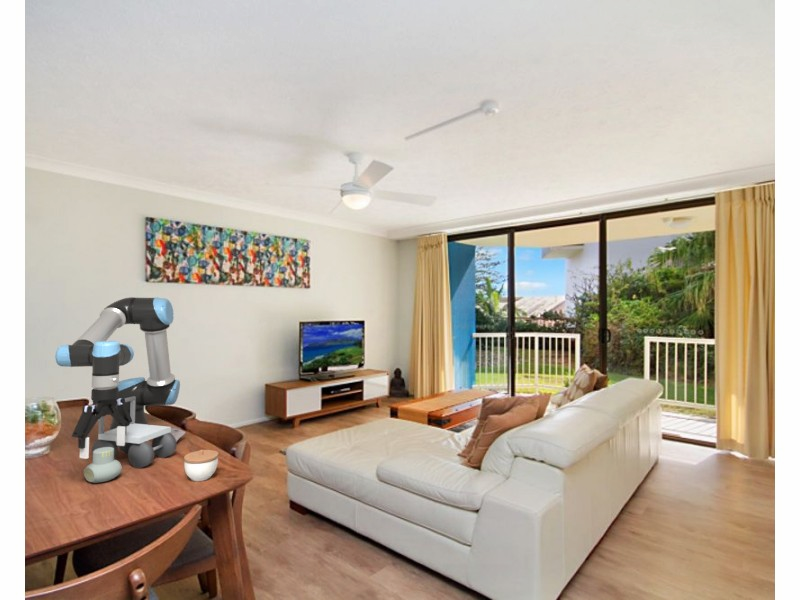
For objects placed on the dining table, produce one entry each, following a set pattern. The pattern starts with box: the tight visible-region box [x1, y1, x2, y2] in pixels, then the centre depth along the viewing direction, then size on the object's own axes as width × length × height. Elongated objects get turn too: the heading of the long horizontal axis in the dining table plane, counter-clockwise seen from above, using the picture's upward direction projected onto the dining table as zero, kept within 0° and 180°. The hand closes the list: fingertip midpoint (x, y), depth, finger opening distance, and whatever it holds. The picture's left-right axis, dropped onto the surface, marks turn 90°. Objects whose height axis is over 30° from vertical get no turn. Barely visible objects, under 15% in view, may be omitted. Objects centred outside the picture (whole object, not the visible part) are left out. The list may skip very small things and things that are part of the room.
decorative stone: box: [152, 427, 187, 443], centre depth 184 cm, size 13×10×6 cm
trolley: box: [91, 396, 177, 469], centre depth 163 cm, size 15×25×22 cm, turn 77°
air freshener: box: [83, 447, 123, 484], centre depth 144 cm, size 11×8×10 cm
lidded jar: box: [183, 449, 220, 482], centre depth 147 cm, size 11×11×9 cm
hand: (103, 451), depth 144 cm, fingers open, 13 cm apart
